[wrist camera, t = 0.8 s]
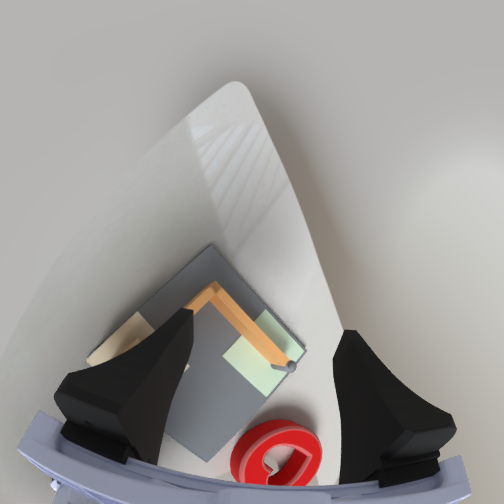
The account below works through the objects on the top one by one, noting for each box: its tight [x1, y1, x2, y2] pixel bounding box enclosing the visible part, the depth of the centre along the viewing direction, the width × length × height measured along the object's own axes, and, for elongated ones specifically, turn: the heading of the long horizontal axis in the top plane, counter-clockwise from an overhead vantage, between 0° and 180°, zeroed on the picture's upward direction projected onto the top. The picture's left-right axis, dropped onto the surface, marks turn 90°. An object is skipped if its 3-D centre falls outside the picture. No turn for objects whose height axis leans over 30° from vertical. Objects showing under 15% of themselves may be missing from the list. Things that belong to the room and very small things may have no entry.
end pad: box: [222, 309, 304, 397], centre depth 27 cm, size 6×6×1 cm
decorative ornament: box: [230, 420, 322, 486], centre depth 23 cm, size 10×10×3 cm
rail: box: [183, 281, 296, 373], centre depth 23 cm, size 11×11×3 cm
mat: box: [87, 244, 307, 462], centre depth 24 cm, size 16×15×1 cm
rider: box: [86, 311, 190, 372], centre depth 19 cm, size 6×6×7 cm
